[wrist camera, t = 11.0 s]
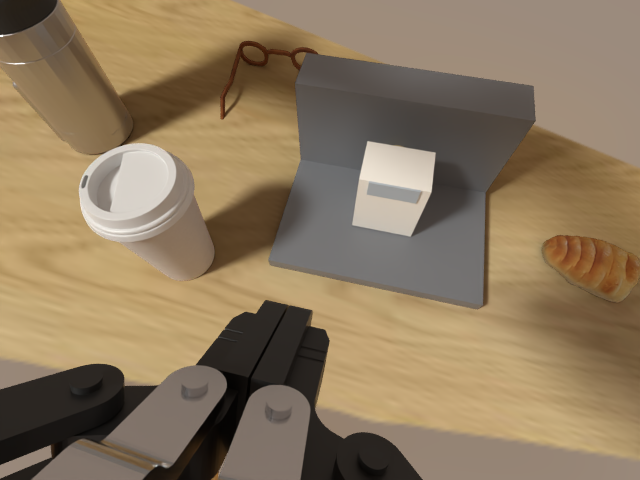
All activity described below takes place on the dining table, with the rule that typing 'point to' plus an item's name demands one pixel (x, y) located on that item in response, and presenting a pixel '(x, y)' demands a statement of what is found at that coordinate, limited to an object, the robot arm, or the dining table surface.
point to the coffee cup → (148, 208)
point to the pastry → (593, 265)
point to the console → (410, 132)
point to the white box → (393, 188)
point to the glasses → (258, 63)
